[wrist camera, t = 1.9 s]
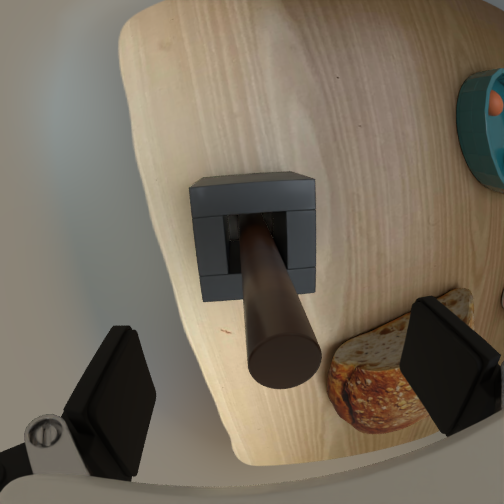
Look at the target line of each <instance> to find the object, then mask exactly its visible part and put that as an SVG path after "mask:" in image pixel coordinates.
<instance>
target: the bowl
mask: <svg viewBox="0 0 504 504" xmlns="http://www.w3.org/2000/svg"><path fill="white" fill-rule="evenodd" d="M491 90H493V91H495V92H497V93H498V94H499V95H500V97H501V98H502V101H503V110H502V112H501V113H500V114H499V115H498V116H490V115H488V109H489V100H490V92H491ZM456 121H457V131H458V137H459V141H460V146H461V149H462V152H463V155H464V158H465V160H466V163H467V165H468V166H469V168H470V170H471V172H472V173H473V175H474V176H475V177H476V179H477V180H478V181H479V182H480V183H481V184H482V185H484V186H485V187H487V188H489V189H491V190H493V191H496V192H500V193H504V68H499V69H493V70H488V71H482V72H477V73H475V74H473V75H471V76H470V77H468V78H467V79H466V81H465V82H464V83H463V85H462V87H461V90H460V92H459V96H458V101H457V110H456Z"/></svg>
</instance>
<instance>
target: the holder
mask: <svg viewBox="0 0 504 504" xmlns="http://www.w3.org/2000/svg"><path fill="white" fill-rule="evenodd" d="M189 194H190V204H191V213H192V223H193V231H194V240H195V248H196V256H197V263H198V271H199V276H200V277H199V278H200V285H201V292H202V299H203V302H213V301H227V300H240V299H243V290H242V275H241V259H240V243H239V240H236V241H230V237H229V225H228V215H236V214H249V213H263V212H272V222H273V240H274V242H275V244H276V247H277V249H278V251H279V253H280V256H281V258H282V260H283V263H284V265H285V267H286V269H287V272H288V274H289V276H290V278H291V281H292V283H293V285H294V288H295V290H296V292H297V294H307V293H315V287H316V210H315V209H316V193H315V179H313V178H310V177H307V176H304V175H301V174H298V173H295V172H270V173H253V174H239V175H226V176H214V177H203V178H201V179H200V180H199V181H197V182H196V183H195V184H193V185H192V186H191V187H189Z"/></svg>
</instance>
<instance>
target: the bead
mask: <svg viewBox="0 0 504 504" xmlns="http://www.w3.org/2000/svg"><path fill="white" fill-rule="evenodd" d="M502 110H503V101H502V98H501V97H500V95H499V94H498V93H497V92H495V91H493V90H491V92H490V100H489V109H488V115H490V116H498V115H499V114H500V113H501V112H502Z"/></svg>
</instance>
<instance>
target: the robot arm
mask: <svg viewBox="0 0 504 504" xmlns="http://www.w3.org/2000/svg"><path fill="white" fill-rule="evenodd" d="M500 356H501V355H500V354H499V353H498V352H497V351H496V350H495V349H494V348H493V347H492V346H491V345H489V344H488V343H487V342H486V341H485V340H484V339H483V338H482V337H481V336H479V335H478V334H477V333H476V332H475V331H474V330H473V329H472V328H470V327H469V326H468V325H467V324H466V323H465V322H463V321H462V320H461V319H460V318H459V317H458V316H456V315H455V314H454V313H453V312H452V311H450V310H449V309H448V308H447V307H446V306H444V305H443V304H442V303H441V302H440V301H438V300H437V299H436V298H435V297H433V296H427V297H421V298H418V299H417V300H416V301H415V303H414V304H413V305H412V308H411V314H410V319H409V324H408V329H407V333H406V338H405V342H404V347H403V351H402V355H401V359H400V363H399V367H400V371H401V373H402V375H403V376H404V377H405V379H406V380H407V382H408V383H409V385H410V386H411V388H412V389H413V391H414V392H415V394H416V395H417V397H418V398H419V400H420V401H421V403H422V404H423V406H424V407H425V409H426V410H427V412H428V413H429V415H430V416H431V418H432V419H433V421H434V423H435V424H436V426H437V427H438V429H439V430H440V432H441V433H443V434H446V436H447V438H444V439H442V440H440V441H437V442H435V443H433V444H430V445H428V446H425V447H423V448H420V449H417V450H415V451H412V452H409V453H406V454H403V455H400V456H397V457H394V458H391V459H388V460H385V461H382V462H378V463H375V464H372V465H368V466H364V467H360V468H357V469H353V470H348V471H344V472H340V473H335V474H331V475H326V476H321V477H315V478H309V479H303V480H296V481H290V482H281V483H272V484H262V485H249V486H228V487H193V486H192V487H191V486H169V485H157V484H146V483H136V482H131V479H132V476H136V475H137V473H138V469H139V464H140V460H141V456H142V452H143V448H144V444H145V440H146V435H147V431H148V427H149V424H150V420H151V415H152V412H153V408H154V405H155V401H156V391H155V387H154V384H153V382H152V378H151V375H150V372H149V370H148V367H147V364H146V360H145V357H144V354H143V350H142V347H141V344H140V340H139V337H138V333H137V331H136V330H132V328H131V327H130V326H113V327H112V328H111V329H110V331H109V333H108V334H107V336H106V337H105V339H104V340H103V342H102V344H101V345H100V347H99V349H98V350H97V352H96V354H95V355H94V357H93V359H92V360H91V362H90V364H89V365H88V367H87V369H86V370H85V372H84V374H83V375H82V377H81V379H80V381H79V382H78V384H77V386H76V388H75V389H74V391H73V393H72V395H71V397H70V398H69V400H68V402H67V404H66V406H65V407H64V412H63V414H62V416H61V417H60V416H57V415H54V414H46V415H42V416H39V417H37V418H35V419H34V420H32V421H31V422H30V423H29V424H28V426H27V427H26V430H25V433H24V440H25V442H24V443H22V444H20V445H17V446H15V447H12V448H10V449H7V450H5V451H3V452H0V504H504V361H503V362H502V364H501V366H500V365H499V364H498V361H499V359H500Z"/></svg>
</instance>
